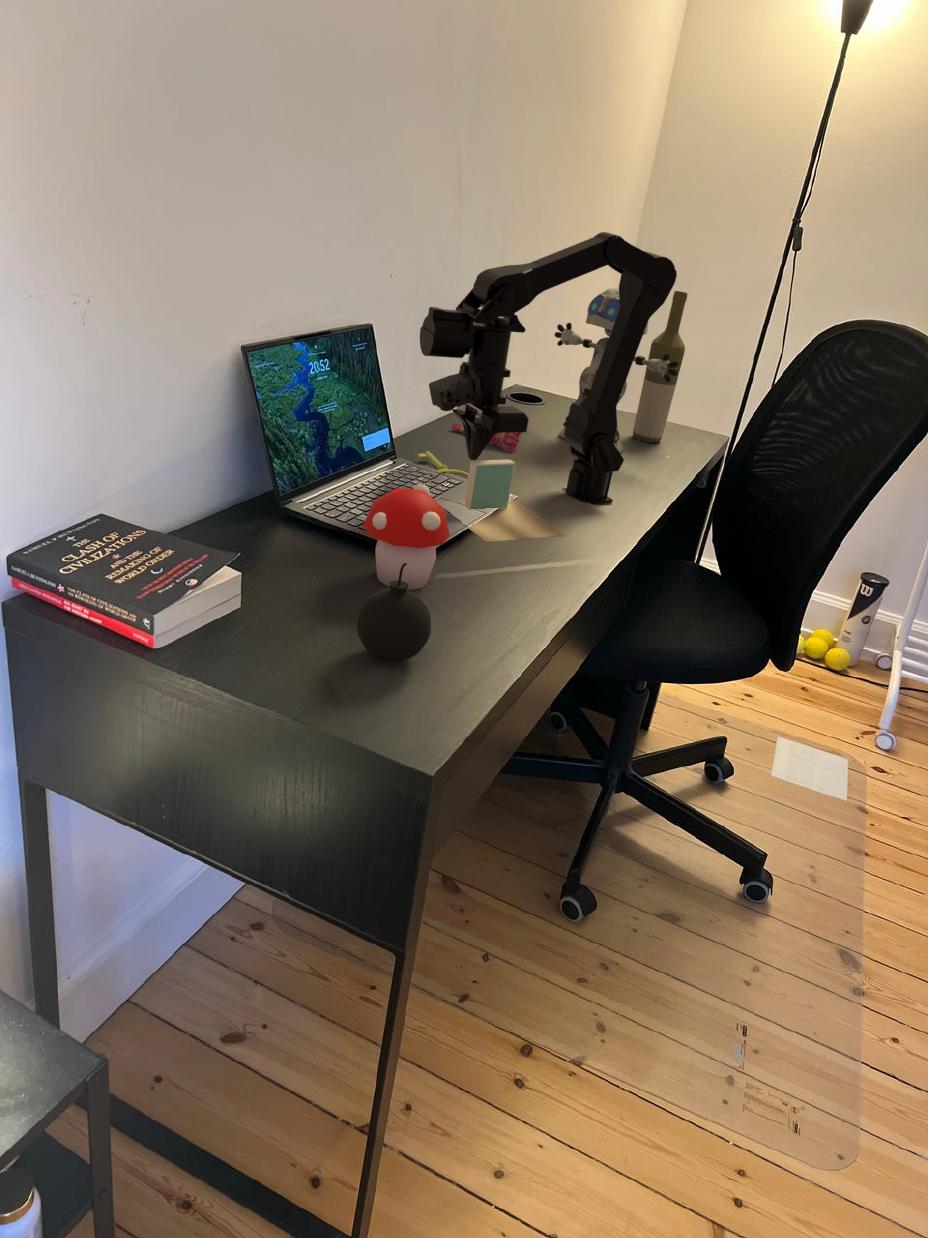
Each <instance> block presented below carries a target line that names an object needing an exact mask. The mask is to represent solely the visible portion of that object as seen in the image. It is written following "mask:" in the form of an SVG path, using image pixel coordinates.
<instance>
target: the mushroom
mask: <svg viewBox="0 0 928 1238" xmlns="http://www.w3.org/2000/svg"><path fill="white" fill-rule="evenodd" d="M436 501H437V500H435V499H434V498H433V497H432V496H431V491H430V488H429V487H428V486H427V485H426V484H424V483H418V484H416V485H414V486H413V487H412V488H405V487H404V488H403V487H396V488H394V489H392V490H391V491H389V492H387V493H386V494H384V495H382V496H380V497H378V498H377V499H375V500H373V503H372V505H371V507H370V509H369V512H368V514H367V516H366V518H365V521H364V522H363V528H364V529H365V531H366V532H367V533H368V535H369V536H370V537H371V538H374V539H377V542H376V544H375V545H376V546H375V565H376V567H375V568H376V579H378V580H379V582H380V583H382V584H383V585H385V586H387V587H390V582H392V581H398V580H399V574H400V569H401V567H402V565H403V564H404V563H406V564H407V565H406V566H404V568H403V572H402V577H401V581H403V582H406V583H407V584H408V585H409V586H408V589H407V590H408V591H410V590H418V589H421V588H424V587H425V586H427V585H428V583H429V581H430V578H431V575H432V571H433V568H434V566H435V562H436V559H437V553H436V552H437V551H436V546H441V545H444V544H445V543H446V541H447V540H448V538H449V537H450V536H451V533H450V530H449V523H448V520H447V515H446V510H444V508H443V507H442V506H441V505H439V504H438V503H437V502H436Z"/></svg>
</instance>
